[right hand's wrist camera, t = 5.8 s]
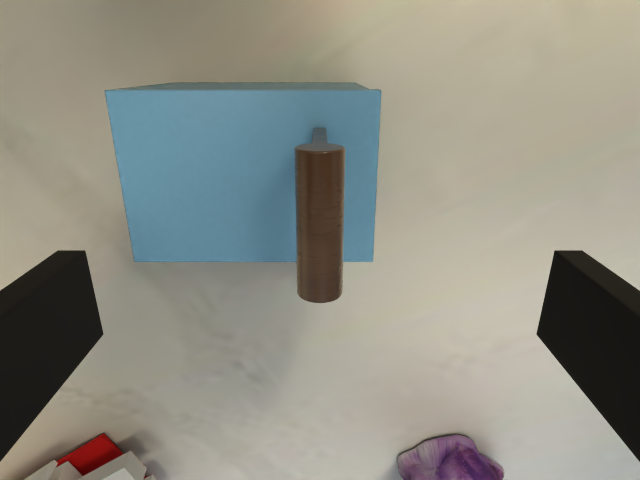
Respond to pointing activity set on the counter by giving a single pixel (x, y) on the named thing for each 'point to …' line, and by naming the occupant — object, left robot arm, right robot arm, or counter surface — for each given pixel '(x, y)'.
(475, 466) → the figurine
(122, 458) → the toy
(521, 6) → the counter surface
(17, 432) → the right robot arm
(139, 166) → the lid
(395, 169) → the counter surface
